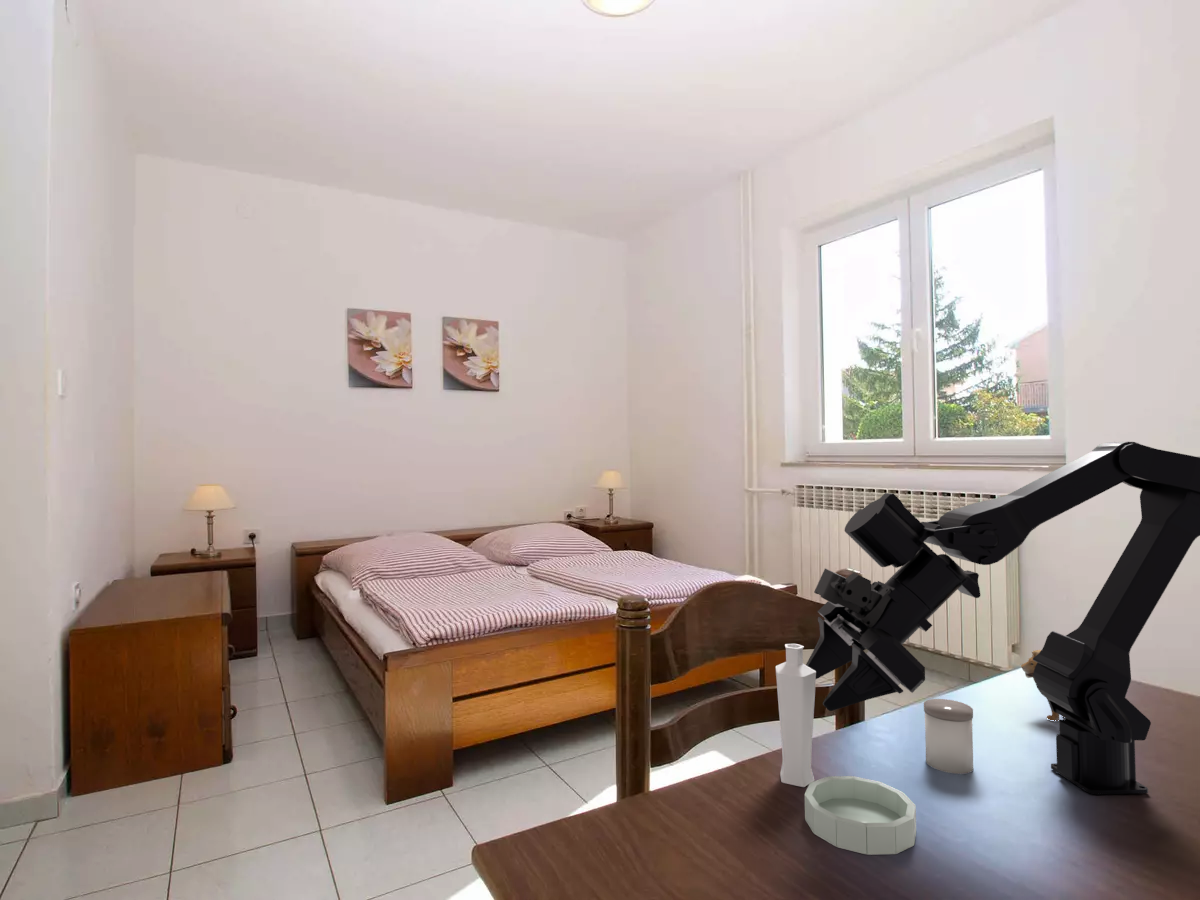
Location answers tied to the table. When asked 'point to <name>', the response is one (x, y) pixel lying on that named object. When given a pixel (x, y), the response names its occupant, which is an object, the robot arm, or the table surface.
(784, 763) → the white faceted vase
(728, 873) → the table surface
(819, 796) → the ring dish
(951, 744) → the cream jar
